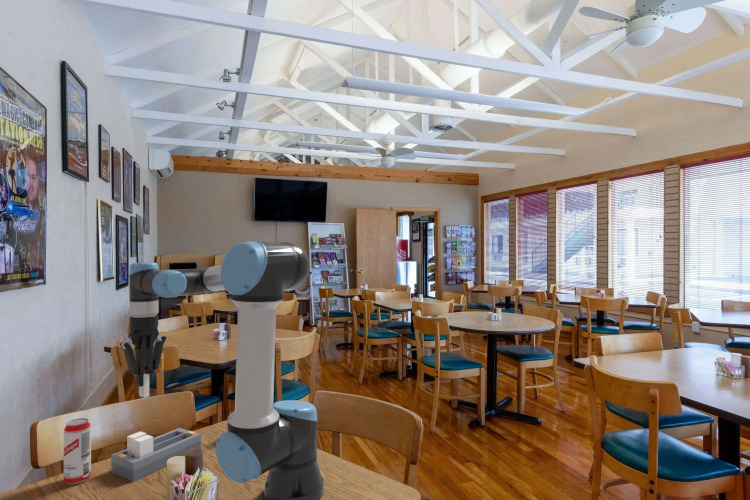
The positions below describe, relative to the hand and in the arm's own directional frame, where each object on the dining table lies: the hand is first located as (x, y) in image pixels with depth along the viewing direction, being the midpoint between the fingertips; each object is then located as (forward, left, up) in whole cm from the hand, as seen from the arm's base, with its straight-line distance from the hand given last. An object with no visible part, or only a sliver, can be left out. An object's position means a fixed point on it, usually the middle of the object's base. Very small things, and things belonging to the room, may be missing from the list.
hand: (144, 396), depth 129 cm
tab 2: (-3, +2, -17) cm, 17 cm away
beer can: (+8, +14, -21) cm, 26 cm away
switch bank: (-1, -4, -20) cm, 21 cm away
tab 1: (+1, +1, -17) cm, 17 cm away
